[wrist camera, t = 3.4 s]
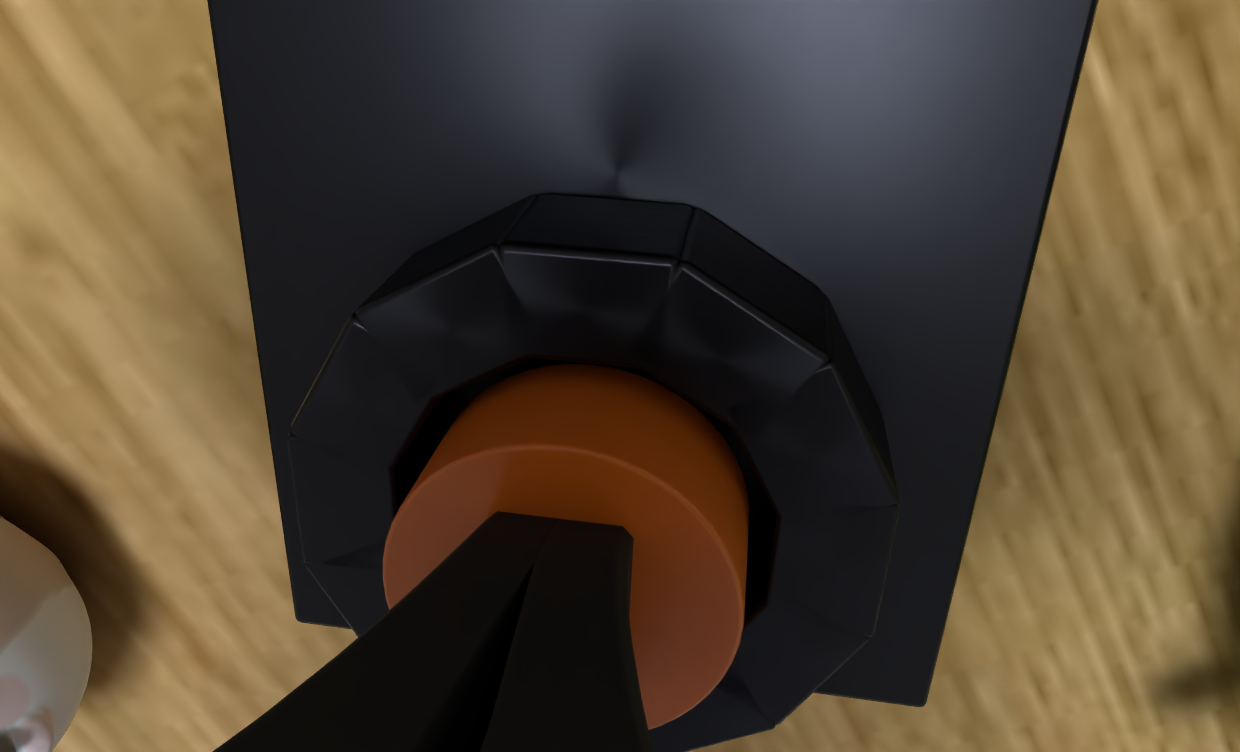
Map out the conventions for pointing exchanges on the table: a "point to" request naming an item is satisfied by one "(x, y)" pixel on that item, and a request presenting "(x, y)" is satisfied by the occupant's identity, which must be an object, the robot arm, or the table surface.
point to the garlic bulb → (38, 644)
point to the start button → (600, 508)
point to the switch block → (658, 274)
